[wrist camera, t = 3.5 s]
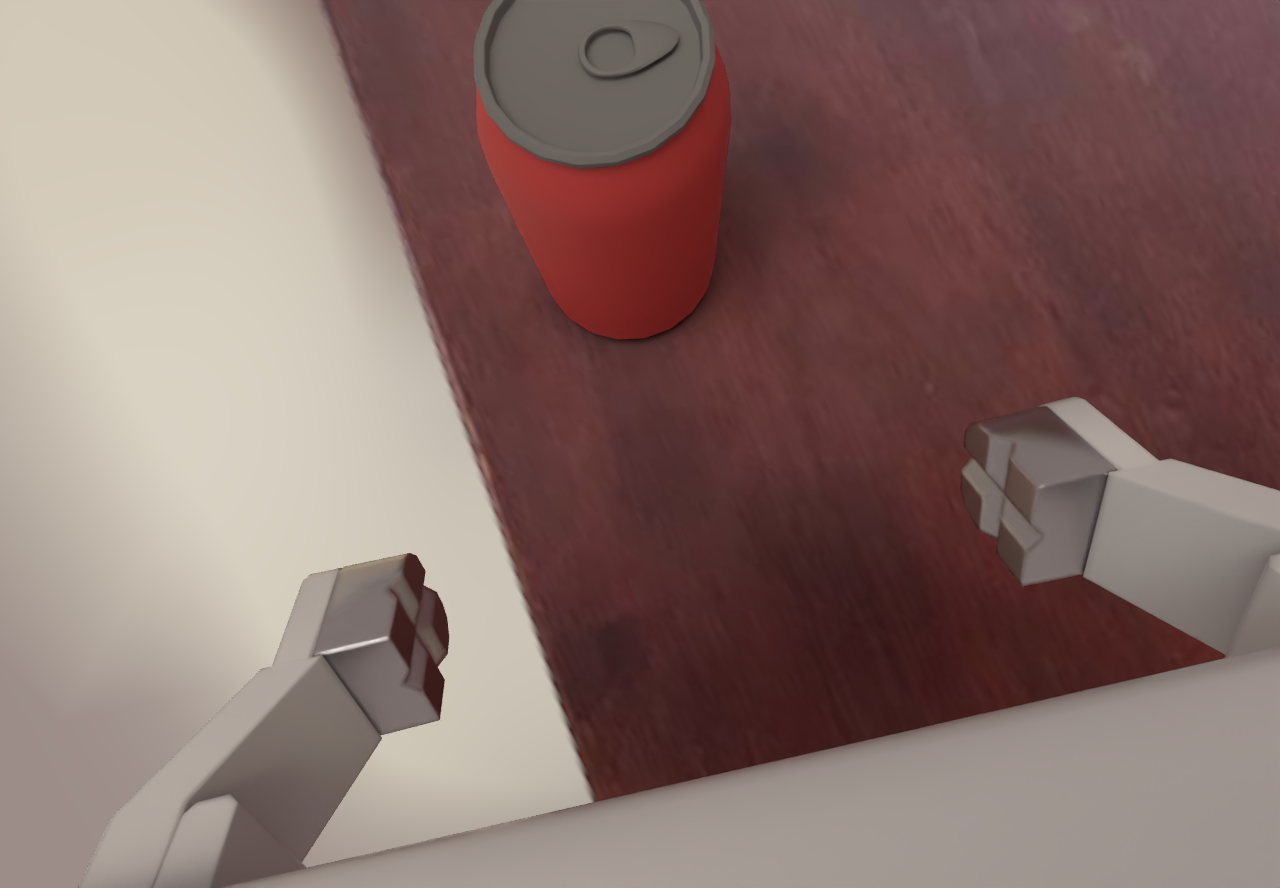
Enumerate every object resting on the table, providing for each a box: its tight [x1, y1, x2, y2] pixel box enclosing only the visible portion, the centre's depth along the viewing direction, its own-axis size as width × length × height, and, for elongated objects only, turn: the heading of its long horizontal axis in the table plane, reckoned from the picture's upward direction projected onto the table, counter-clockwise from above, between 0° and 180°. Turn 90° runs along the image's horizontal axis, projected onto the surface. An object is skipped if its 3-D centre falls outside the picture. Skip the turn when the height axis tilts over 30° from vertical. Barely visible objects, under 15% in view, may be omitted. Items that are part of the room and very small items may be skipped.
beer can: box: [474, 0, 731, 340], centre depth 22 cm, size 7×7×12 cm
